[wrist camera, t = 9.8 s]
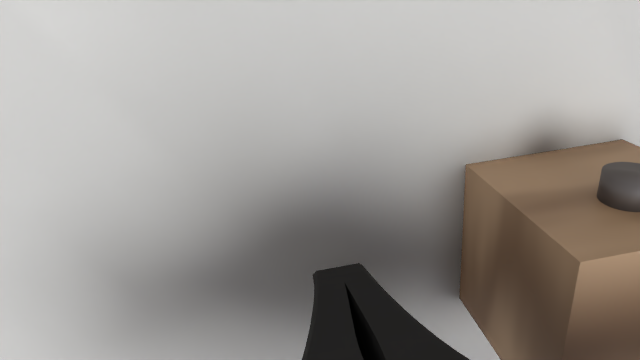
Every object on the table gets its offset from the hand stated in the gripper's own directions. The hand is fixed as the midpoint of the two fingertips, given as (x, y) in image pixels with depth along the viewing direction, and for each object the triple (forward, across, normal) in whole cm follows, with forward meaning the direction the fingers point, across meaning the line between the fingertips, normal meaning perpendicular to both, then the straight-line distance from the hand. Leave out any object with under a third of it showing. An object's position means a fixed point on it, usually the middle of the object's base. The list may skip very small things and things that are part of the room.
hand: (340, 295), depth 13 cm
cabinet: (+2, -7, 0) cm, 7 cm away
